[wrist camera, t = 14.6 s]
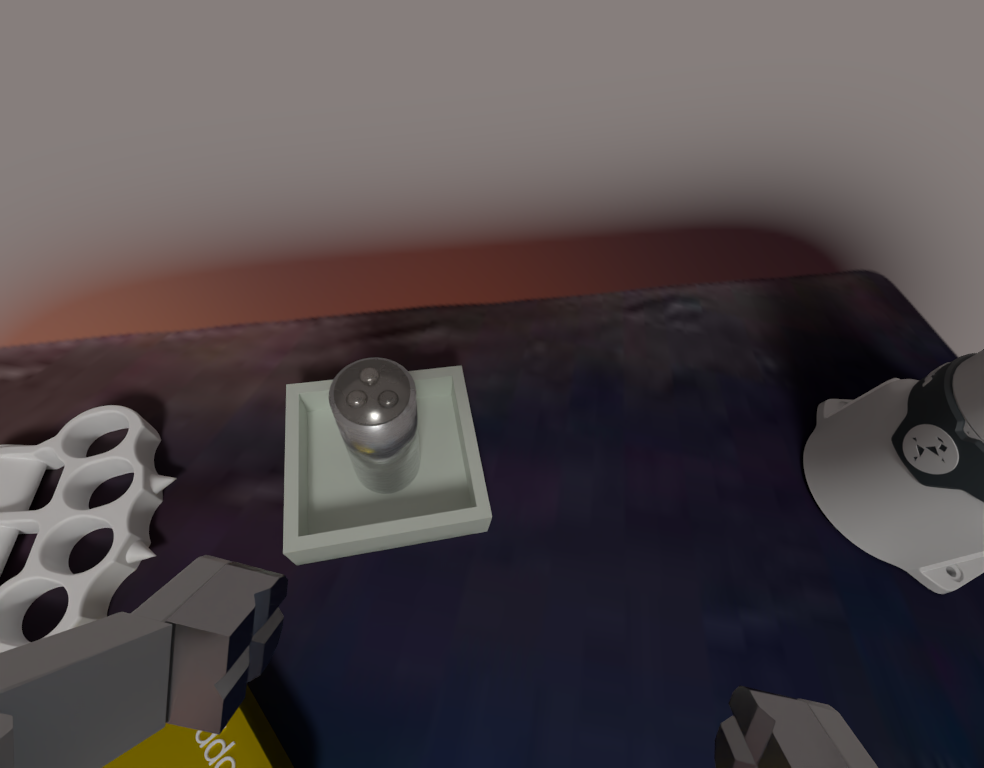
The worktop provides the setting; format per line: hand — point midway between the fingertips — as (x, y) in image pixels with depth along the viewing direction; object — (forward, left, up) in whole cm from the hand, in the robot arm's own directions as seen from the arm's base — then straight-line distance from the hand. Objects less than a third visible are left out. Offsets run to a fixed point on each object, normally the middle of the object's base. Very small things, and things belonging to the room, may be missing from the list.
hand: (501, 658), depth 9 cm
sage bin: (+3, -17, -30) cm, 35 cm away
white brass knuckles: (+27, -16, -31) cm, 44 cm away
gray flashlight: (+3, -17, -29) cm, 34 cm away
